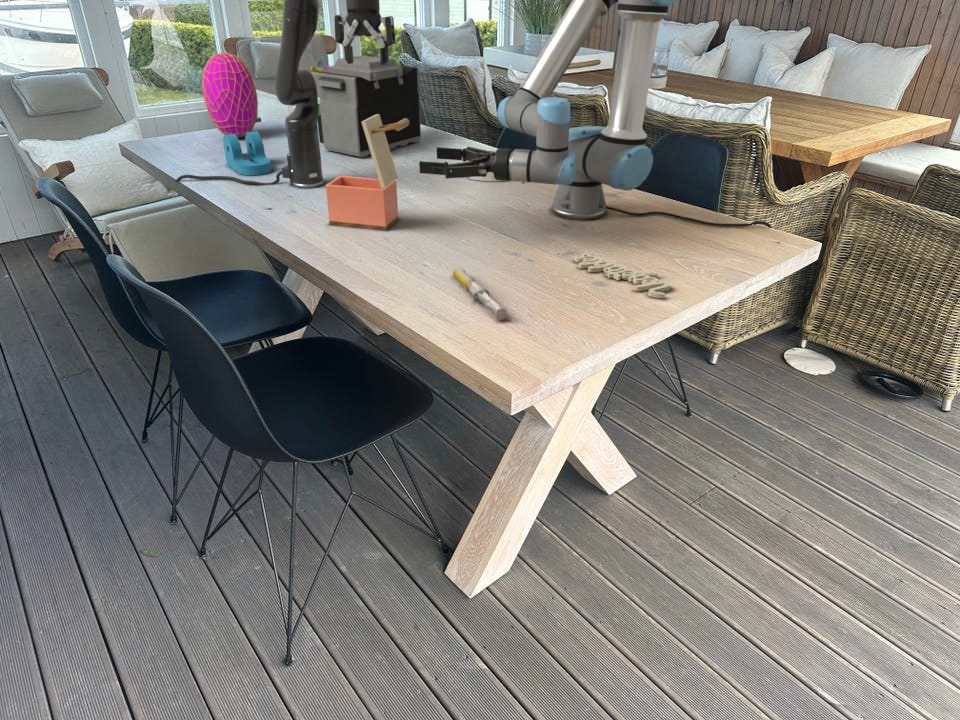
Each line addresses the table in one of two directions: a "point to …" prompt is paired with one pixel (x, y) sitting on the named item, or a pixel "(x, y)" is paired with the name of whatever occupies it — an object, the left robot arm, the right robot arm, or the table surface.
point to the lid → (382, 147)
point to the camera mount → (246, 154)
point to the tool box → (366, 103)
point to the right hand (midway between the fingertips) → (428, 159)
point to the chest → (361, 203)
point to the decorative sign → (625, 274)
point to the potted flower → (319, 68)
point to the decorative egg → (230, 94)
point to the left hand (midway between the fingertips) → (366, 64)
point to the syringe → (479, 293)
